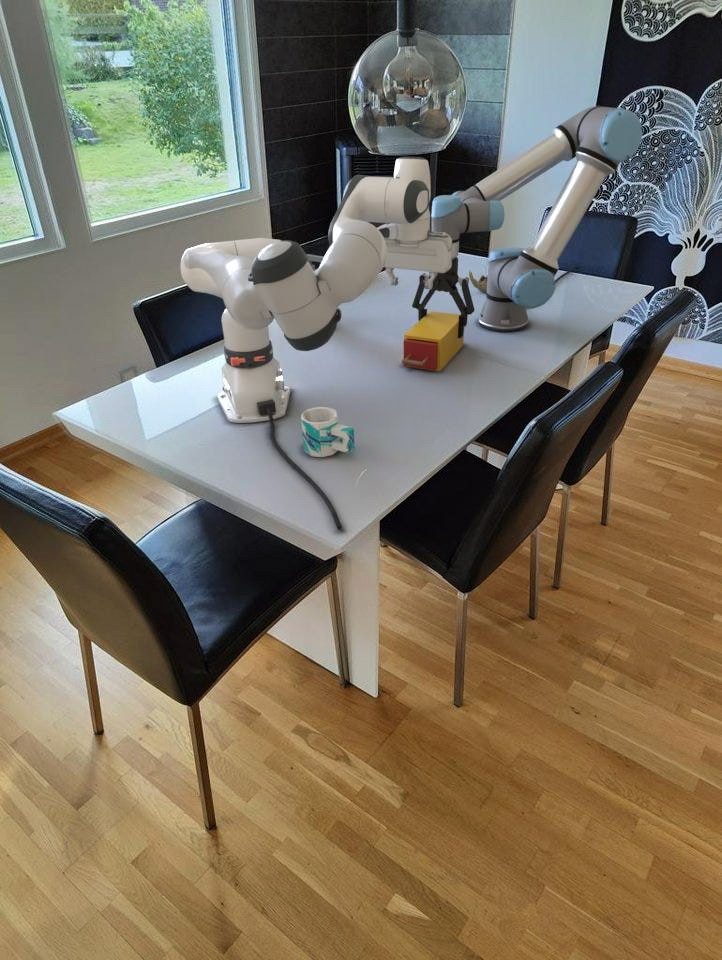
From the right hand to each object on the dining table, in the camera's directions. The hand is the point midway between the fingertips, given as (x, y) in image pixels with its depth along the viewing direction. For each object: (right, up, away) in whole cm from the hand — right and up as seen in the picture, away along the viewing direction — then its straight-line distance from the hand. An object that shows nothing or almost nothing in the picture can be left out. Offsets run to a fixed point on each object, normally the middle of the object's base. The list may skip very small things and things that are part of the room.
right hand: (442, 334), depth 195 cm
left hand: (-11, +6, -26) cm, 29 cm away
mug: (-31, -36, -46) cm, 66 cm away
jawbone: (+22, +25, +45) cm, 56 cm away
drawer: (-5, -8, -7) cm, 12 cm away
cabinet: (-2, -7, -2) cm, 7 cm away
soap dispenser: (-37, +8, +22) cm, 44 cm away
